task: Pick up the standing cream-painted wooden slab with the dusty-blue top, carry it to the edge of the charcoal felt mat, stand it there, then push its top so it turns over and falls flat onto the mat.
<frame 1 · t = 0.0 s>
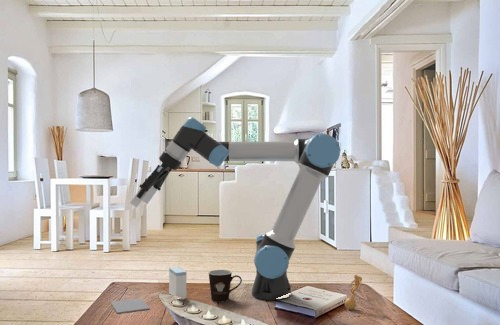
hand: (139, 203, 168), 36 cm above the table, tool tilted 35°, fingers open, 13 cm apart
felt mat: (129, 306, 164), on the table
figurine: (353, 310, 161), on the table
coffee mug: (223, 300, 172), on the table
slab: (177, 296, 177), on the table
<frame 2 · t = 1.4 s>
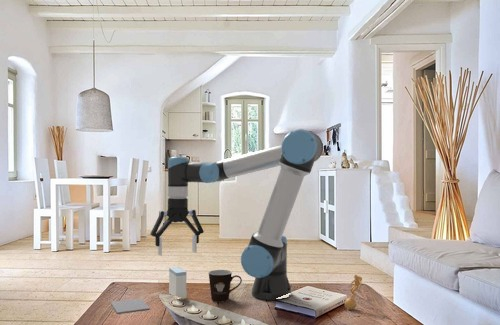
hand: (177, 253, 177), 16 cm above the table, tool pointing down, fingers open, 13 cm apart
nothing on the table moved.
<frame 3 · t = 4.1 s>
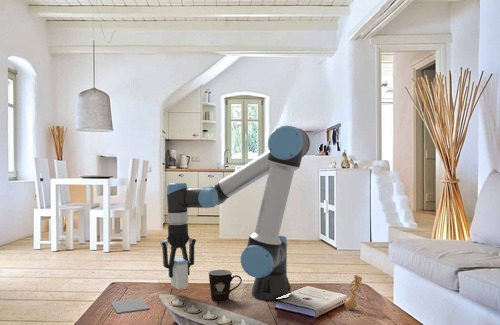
hand: (179, 284, 177), 4 cm above the table, tool pointing down, fingers closed on slab, 4 cm apart
slab: (179, 286, 177), point 4 cm above the table, touching gripper
everything else where it was.
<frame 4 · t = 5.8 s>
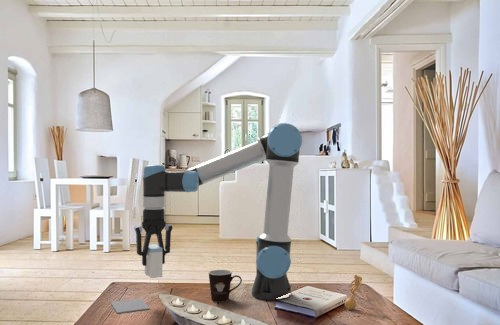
hand: (153, 273, 166), 11 cm above the table, tool pointing down, fingers closed on slab, 4 cm apart
slab: (153, 274, 166), point 11 cm above the table, touching gripper
everything else where it was.
when the fingers open (1 cm above the table, at t = 7.7 s): slab stays where it is, on the table.
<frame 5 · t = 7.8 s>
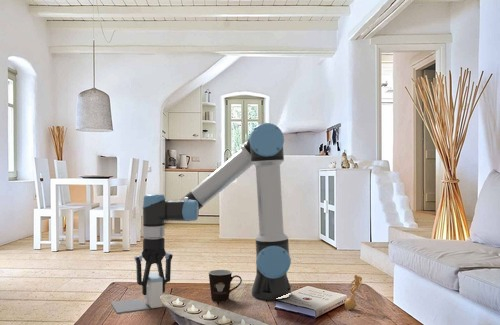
hand: (153, 302, 166), 1 cm above the table, tool pointing down, fingers open, 4 cm apart
slab: (153, 303, 166), on the table
everything else where it was.
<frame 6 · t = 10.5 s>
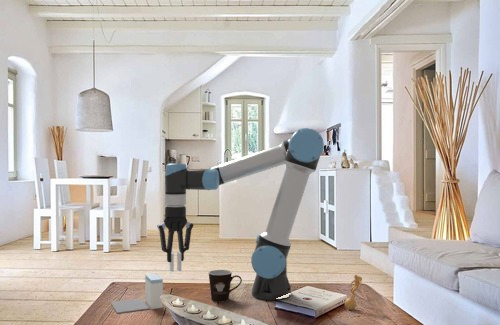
hand: (175, 270, 170), 11 cm above the table, tool pointing down, fingers open, 2 cm apart
slab: (153, 304, 166), on the table
everything else where it was.
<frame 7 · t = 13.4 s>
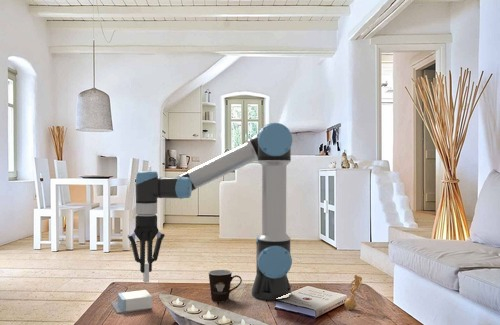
hand: (145, 281, 165), 9 cm above the table, tool pointing down, fingers closed
slab: (148, 298, 165), point 2 cm above the table, tilted 90°, touching felt mat
everything else where it was.
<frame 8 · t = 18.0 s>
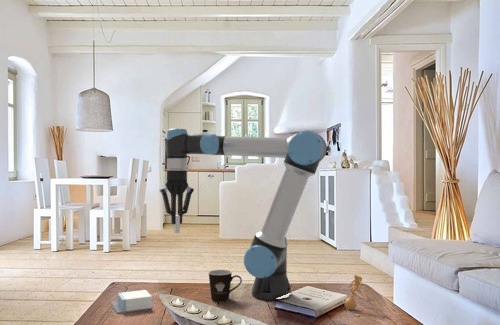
hand: (176, 232, 175), 24 cm above the table, tool pointing down, fingers closed
nothing on the table moved.
at the end: slab tilted 90°; slab inside the target area (5.9 cm from its centre), point 2.4 cm above the table; the gripper is holding nothing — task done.
